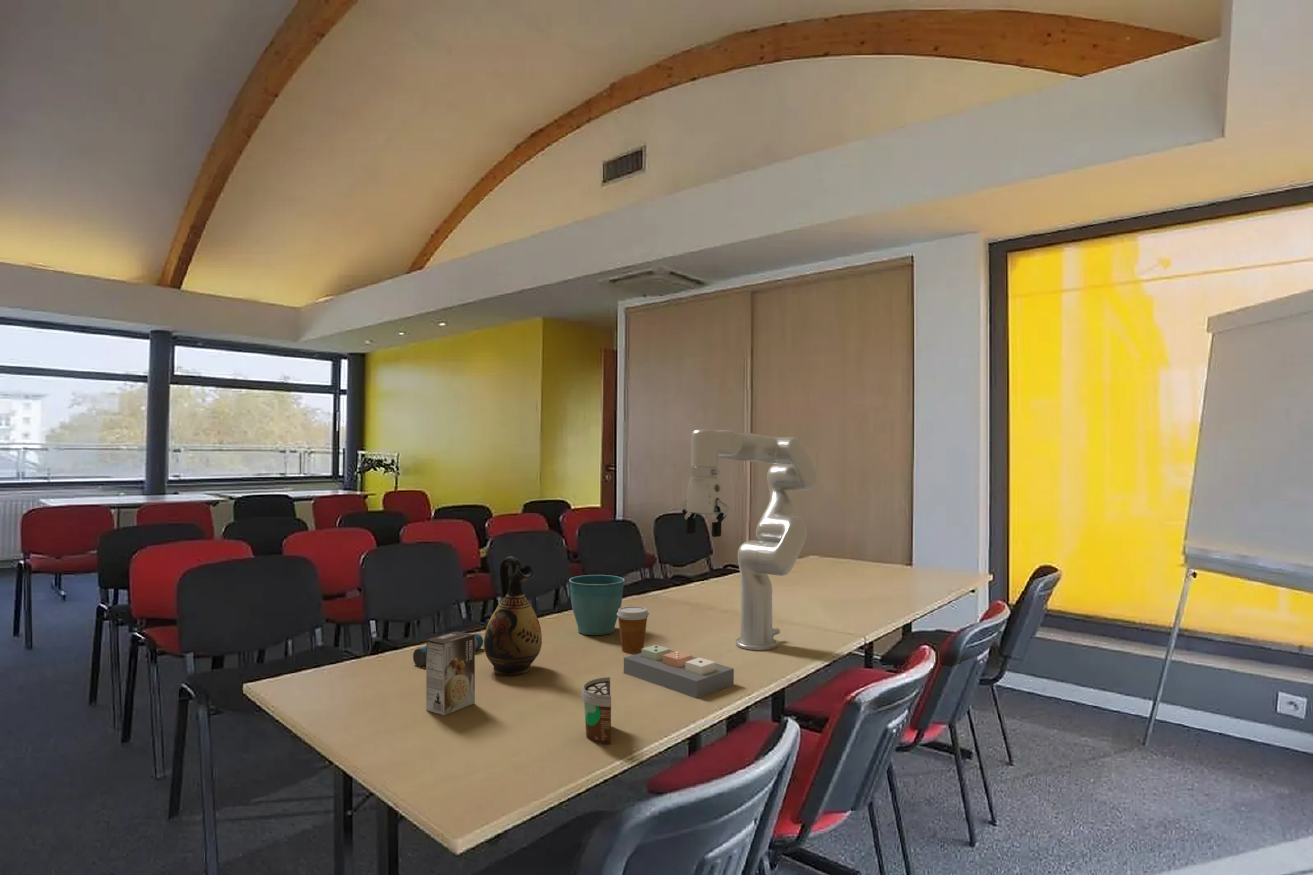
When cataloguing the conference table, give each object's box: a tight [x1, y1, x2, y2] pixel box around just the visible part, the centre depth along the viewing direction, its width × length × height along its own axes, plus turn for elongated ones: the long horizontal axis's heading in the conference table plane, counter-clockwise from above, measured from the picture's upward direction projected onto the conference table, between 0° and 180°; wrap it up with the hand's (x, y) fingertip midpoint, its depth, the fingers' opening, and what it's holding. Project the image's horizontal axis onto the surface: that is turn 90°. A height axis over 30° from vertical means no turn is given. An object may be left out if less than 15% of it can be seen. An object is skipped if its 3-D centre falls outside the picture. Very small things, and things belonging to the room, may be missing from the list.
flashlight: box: [412, 632, 484, 668], centre depth 196 cm, size 5×22×5 cm, turn 145°
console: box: [623, 649, 735, 699], centre depth 178 cm, size 14×26×4 cm, turn 44°
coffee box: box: [425, 631, 476, 716], centre depth 157 cm, size 9×6×16 cm
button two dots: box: [641, 644, 671, 661], centre depth 184 cm, size 5×5×4 cm
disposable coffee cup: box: [617, 605, 650, 654], centre depth 204 cm, size 10×10×12 cm
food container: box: [580, 676, 612, 745], centre depth 142 cm, size 12×6×10 cm, turn 5°
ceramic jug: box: [483, 555, 543, 677], centre depth 185 cm, size 17×15×30 cm
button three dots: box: [663, 650, 693, 668], centre depth 178 cm, size 5×5×4 cm
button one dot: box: [685, 657, 717, 675], centre depth 172 cm, size 5×5×4 cm
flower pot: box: [568, 574, 625, 636], centre depth 225 cm, size 18×18×17 cm
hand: (703, 534), depth 192 cm, fingers open, 9 cm apart
